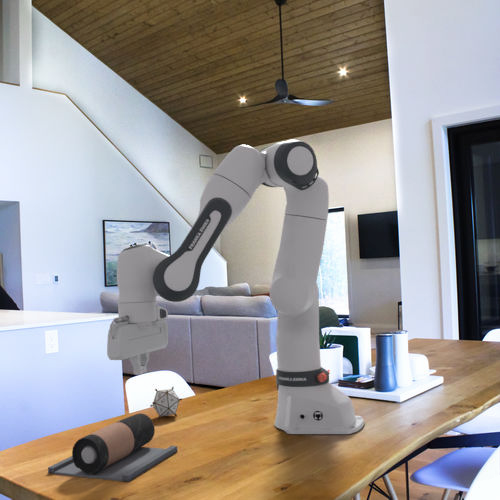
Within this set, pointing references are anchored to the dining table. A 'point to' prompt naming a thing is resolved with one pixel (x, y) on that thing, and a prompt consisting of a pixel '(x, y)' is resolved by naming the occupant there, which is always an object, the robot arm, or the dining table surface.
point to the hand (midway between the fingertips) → (140, 373)
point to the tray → (119, 465)
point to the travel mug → (112, 443)
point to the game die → (166, 402)
